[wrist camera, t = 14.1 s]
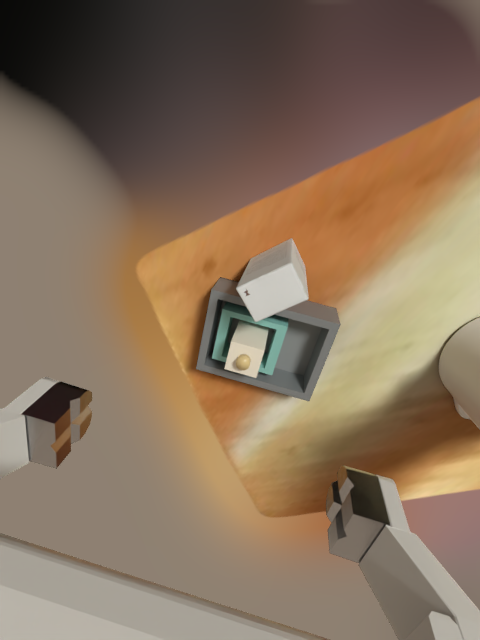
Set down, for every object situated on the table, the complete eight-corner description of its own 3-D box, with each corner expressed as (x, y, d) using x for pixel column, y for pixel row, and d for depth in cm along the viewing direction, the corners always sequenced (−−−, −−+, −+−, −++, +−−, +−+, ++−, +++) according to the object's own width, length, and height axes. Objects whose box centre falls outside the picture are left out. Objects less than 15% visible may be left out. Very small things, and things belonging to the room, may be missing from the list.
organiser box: (336, 308, 44) (340, 324, 39) (308, 380, 49) (309, 401, 44) (220, 277, 44) (211, 289, 40) (205, 350, 50) (195, 369, 45)
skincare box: (264, 286, 44) (253, 324, 33) (250, 258, 43) (233, 288, 32) (307, 266, 42) (310, 300, 31) (293, 236, 41) (290, 260, 30)
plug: (270, 321, 45) (263, 355, 37) (262, 345, 47) (255, 382, 39) (242, 313, 45) (229, 345, 37) (235, 338, 47) (222, 373, 39)
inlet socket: (288, 314, 44) (287, 327, 40) (274, 359, 47) (272, 375, 44) (228, 297, 45) (222, 309, 41) (218, 344, 48) (211, 358, 44)
